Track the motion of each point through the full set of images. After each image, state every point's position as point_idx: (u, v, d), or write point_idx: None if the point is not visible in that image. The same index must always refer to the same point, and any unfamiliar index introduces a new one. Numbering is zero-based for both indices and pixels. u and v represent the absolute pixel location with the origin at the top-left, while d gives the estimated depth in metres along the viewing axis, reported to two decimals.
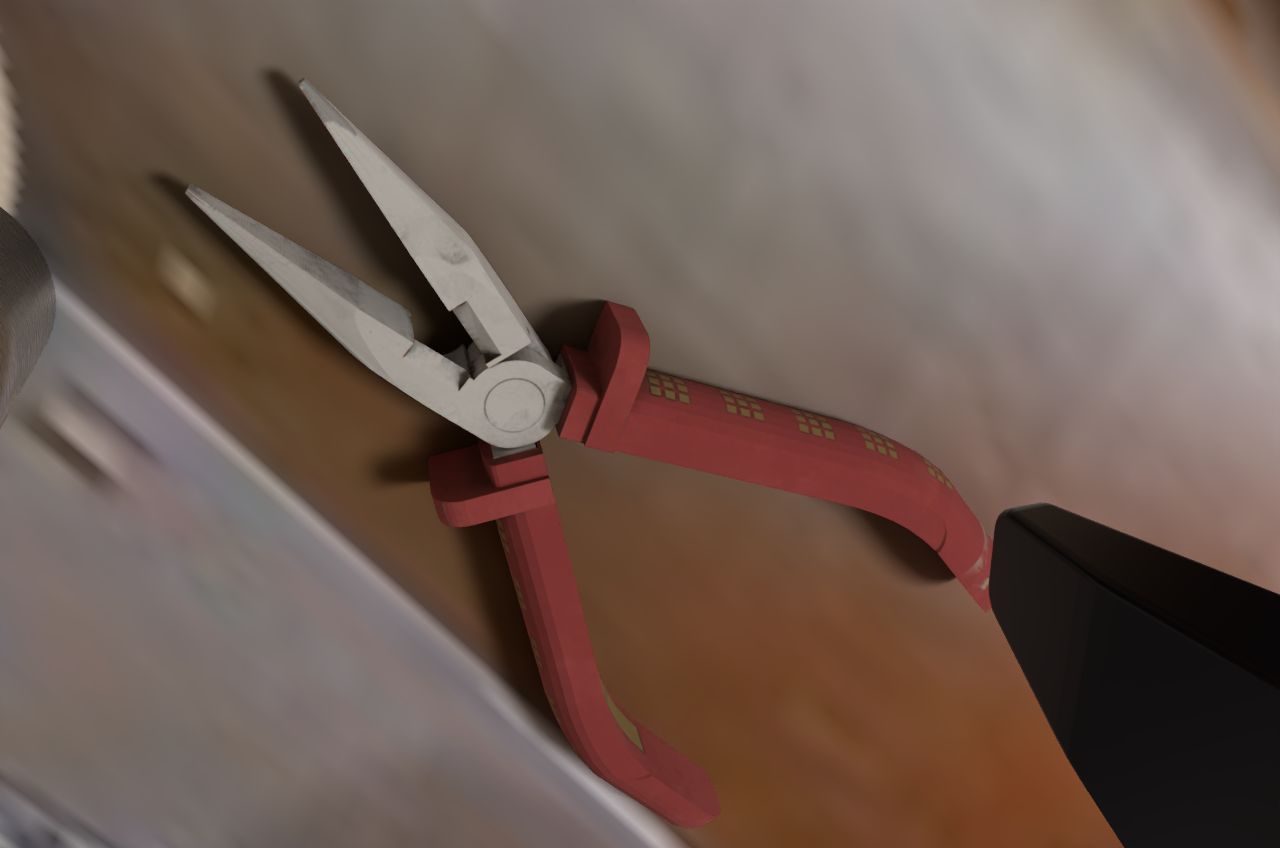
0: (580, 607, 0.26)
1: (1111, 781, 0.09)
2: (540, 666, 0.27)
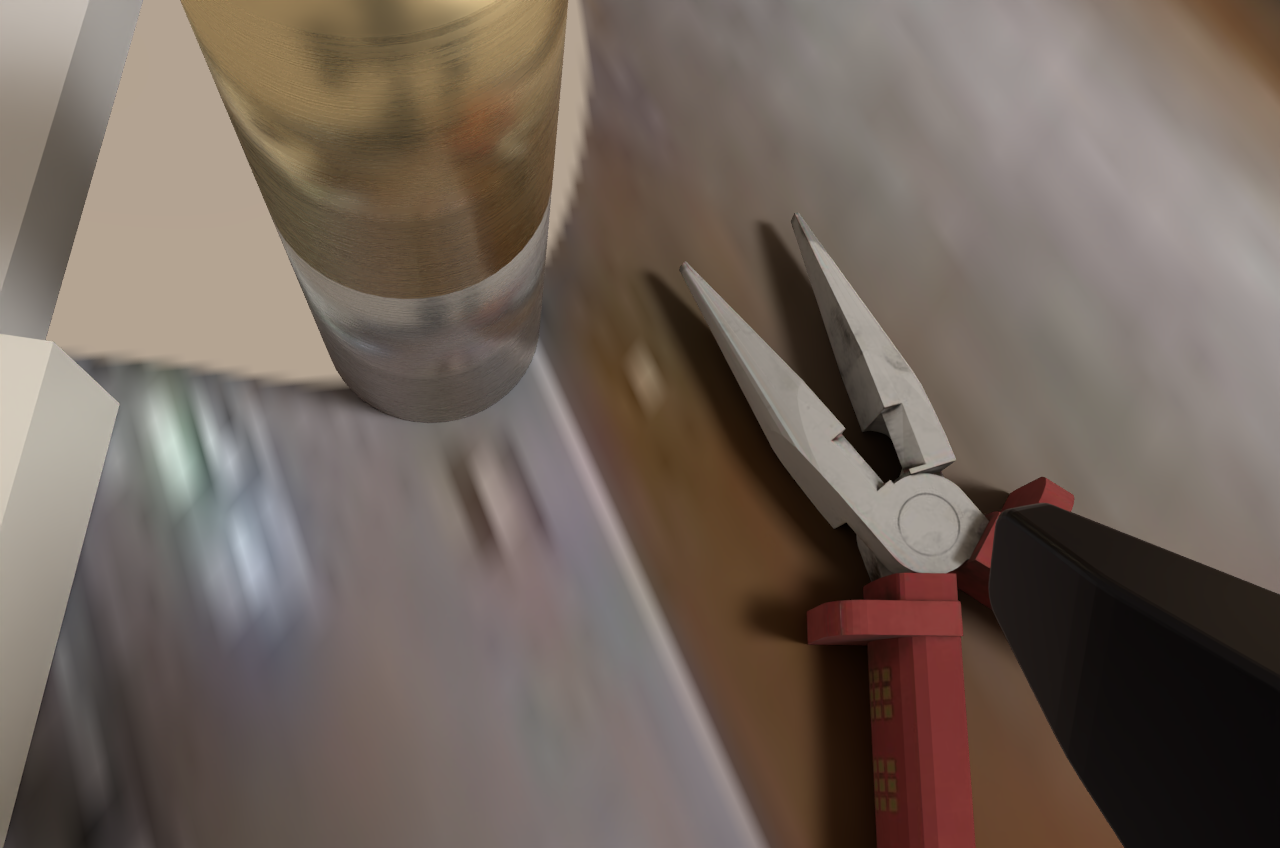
0: (970, 803, 0.20)
1: (1111, 781, 0.09)
2: None
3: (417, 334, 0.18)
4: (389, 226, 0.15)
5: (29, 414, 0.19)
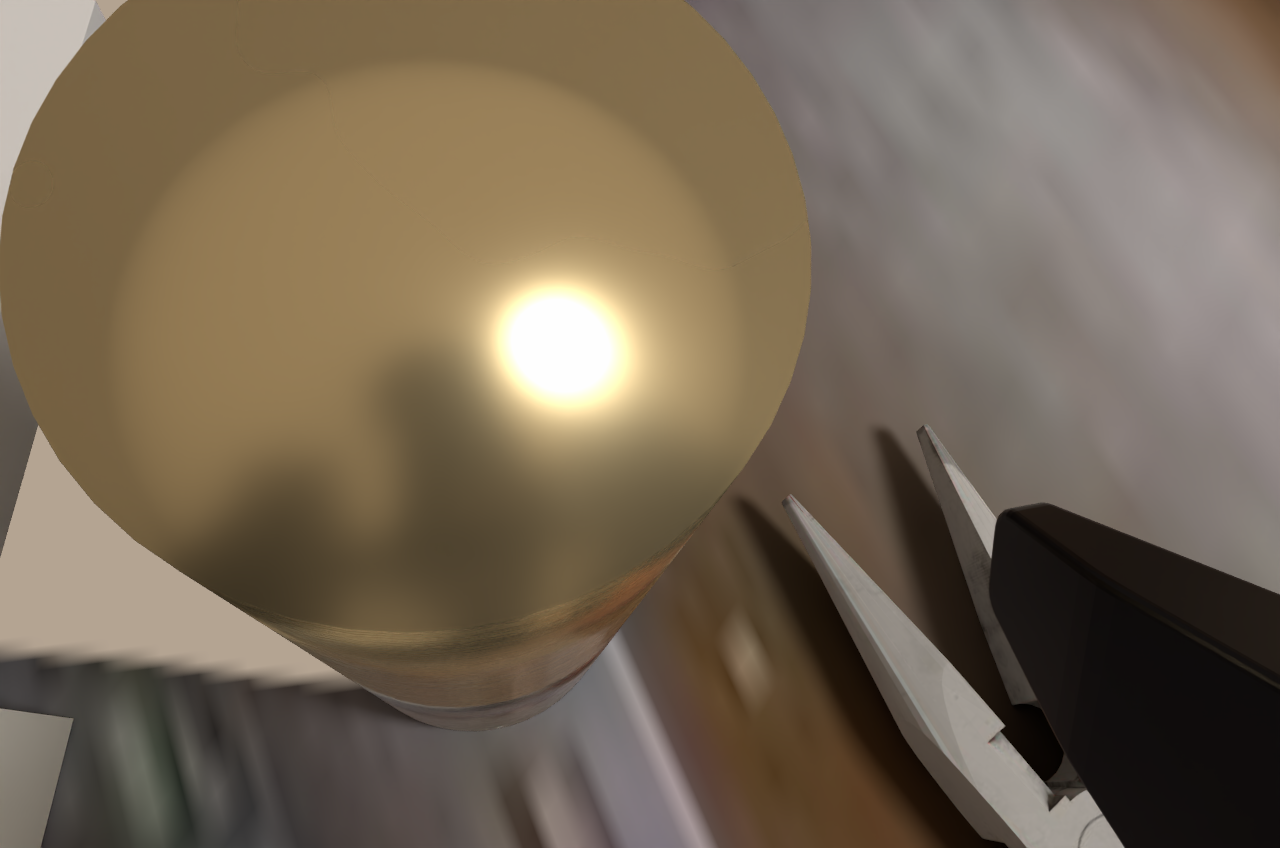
0: None
1: (1111, 781, 0.09)
2: None
3: (471, 714, 0.13)
4: (448, 689, 0.10)
5: None
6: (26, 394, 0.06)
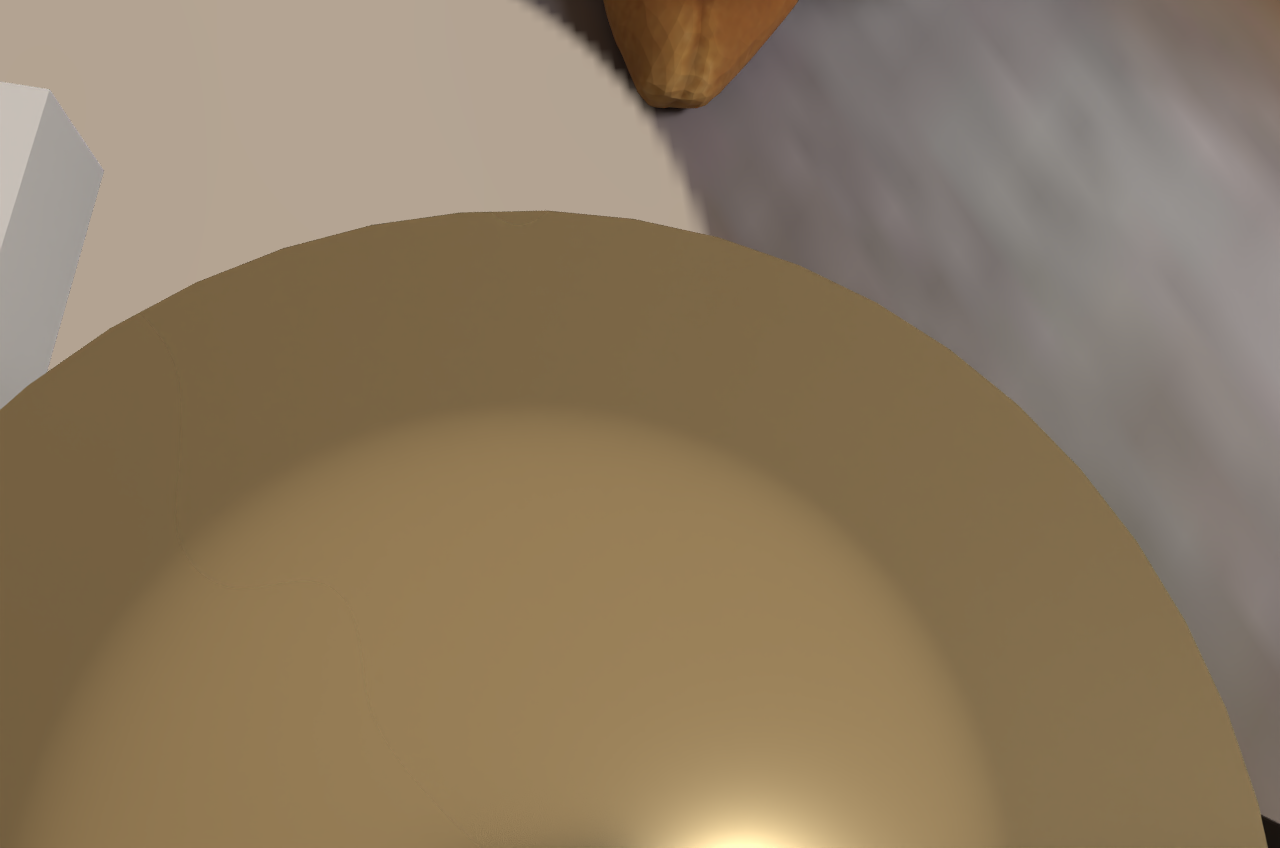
0: None
1: None
2: None
3: None
4: None
5: None
6: None
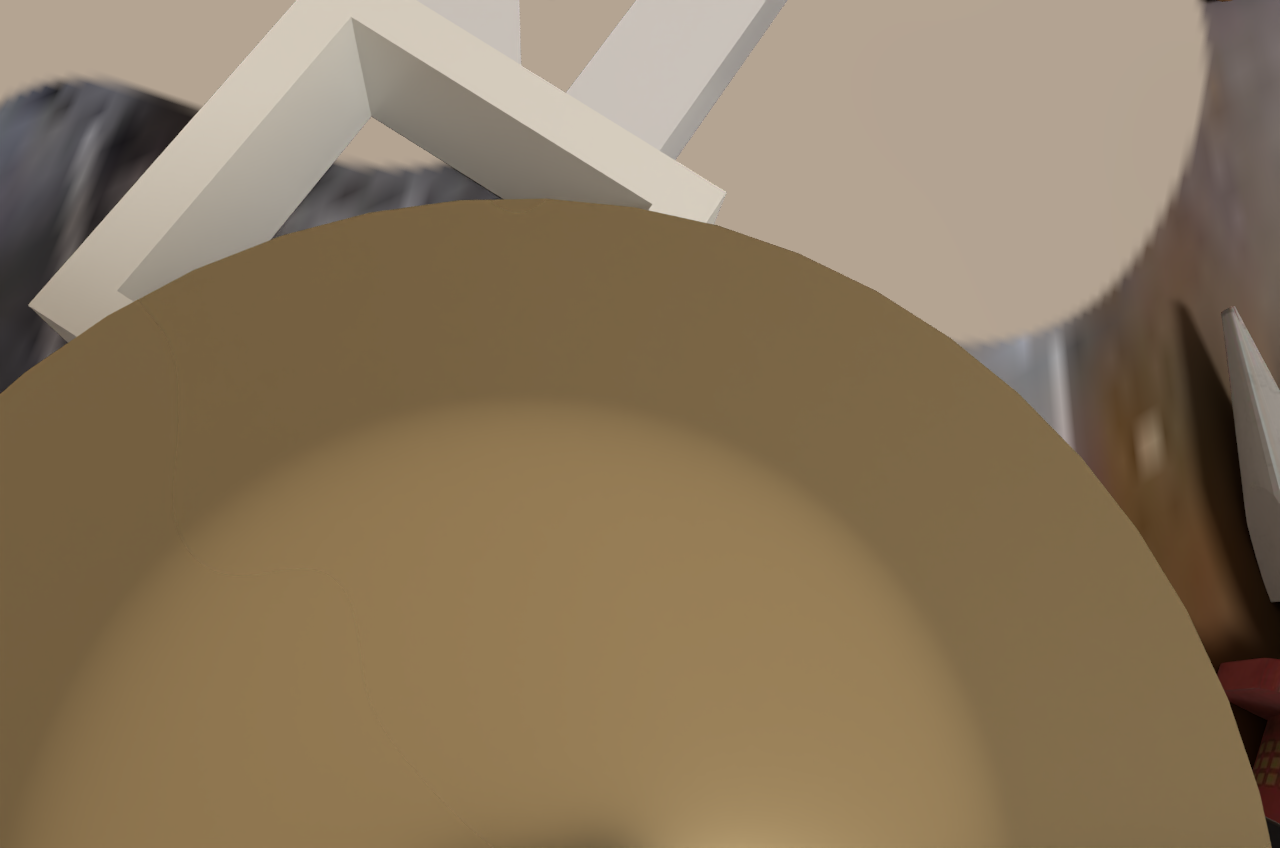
0: None
1: None
2: None
3: None
4: None
5: None
6: None
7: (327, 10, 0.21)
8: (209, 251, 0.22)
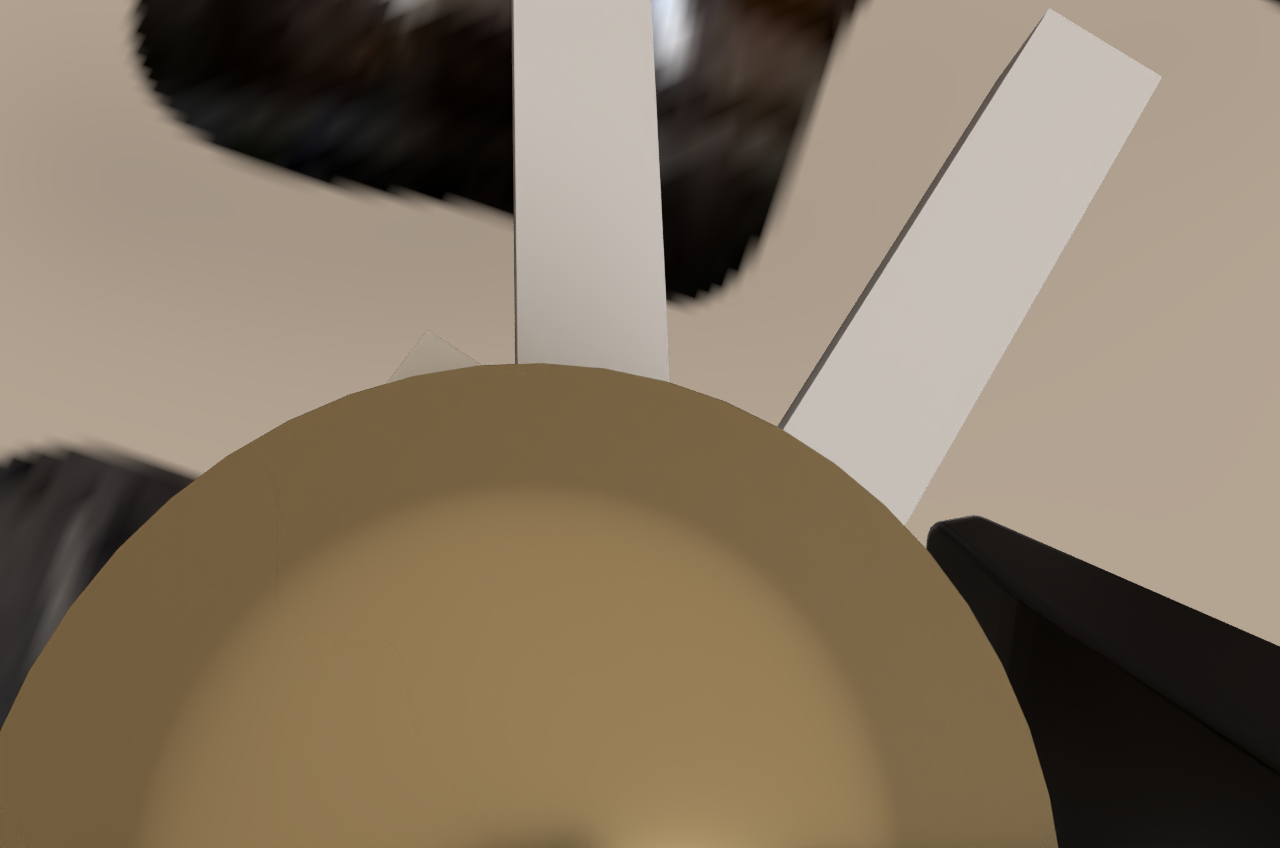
0: None
1: None
2: None
3: None
4: None
5: None
6: None
7: None
8: None
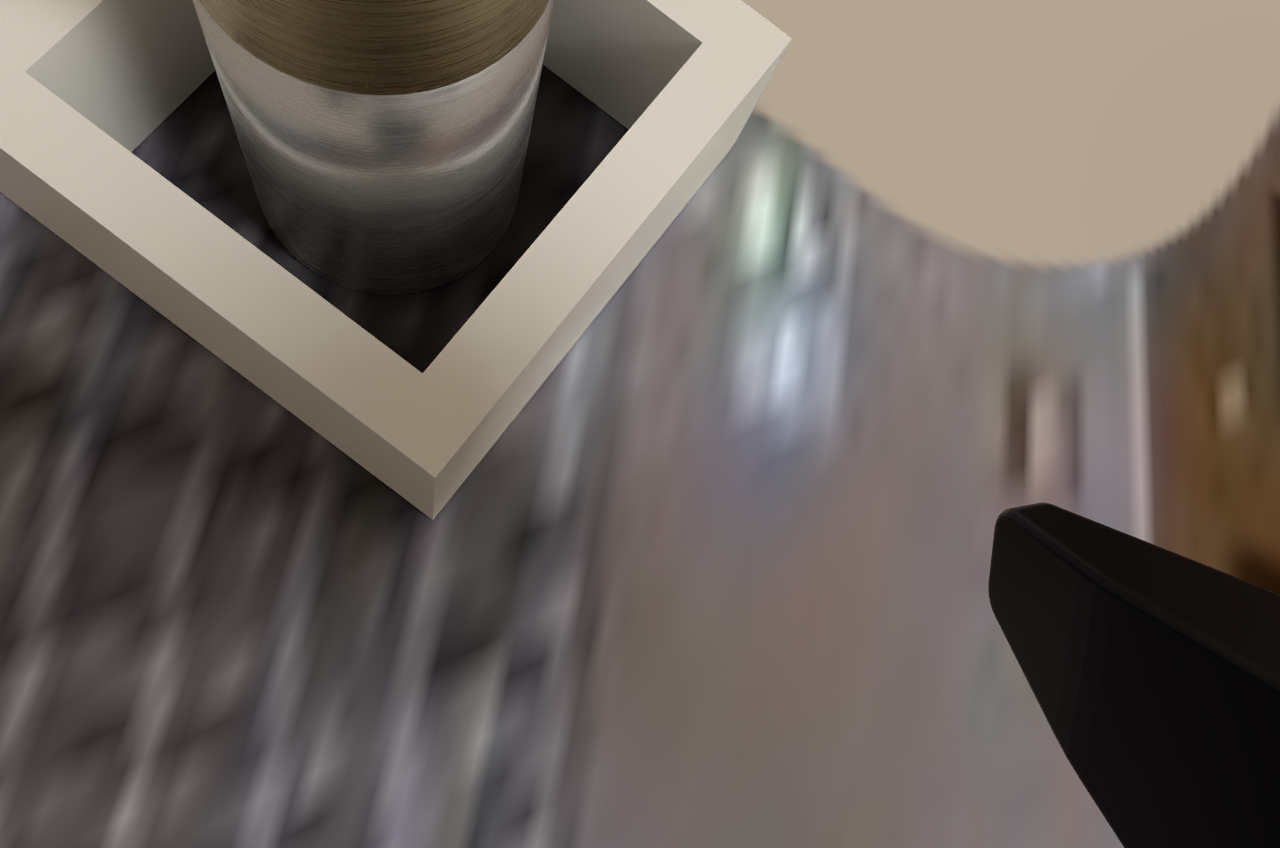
0: None
1: (1111, 781, 0.09)
2: None
3: (370, 154, 0.14)
4: None
5: (740, 94, 0.17)
6: None
7: None
8: (150, 51, 0.17)
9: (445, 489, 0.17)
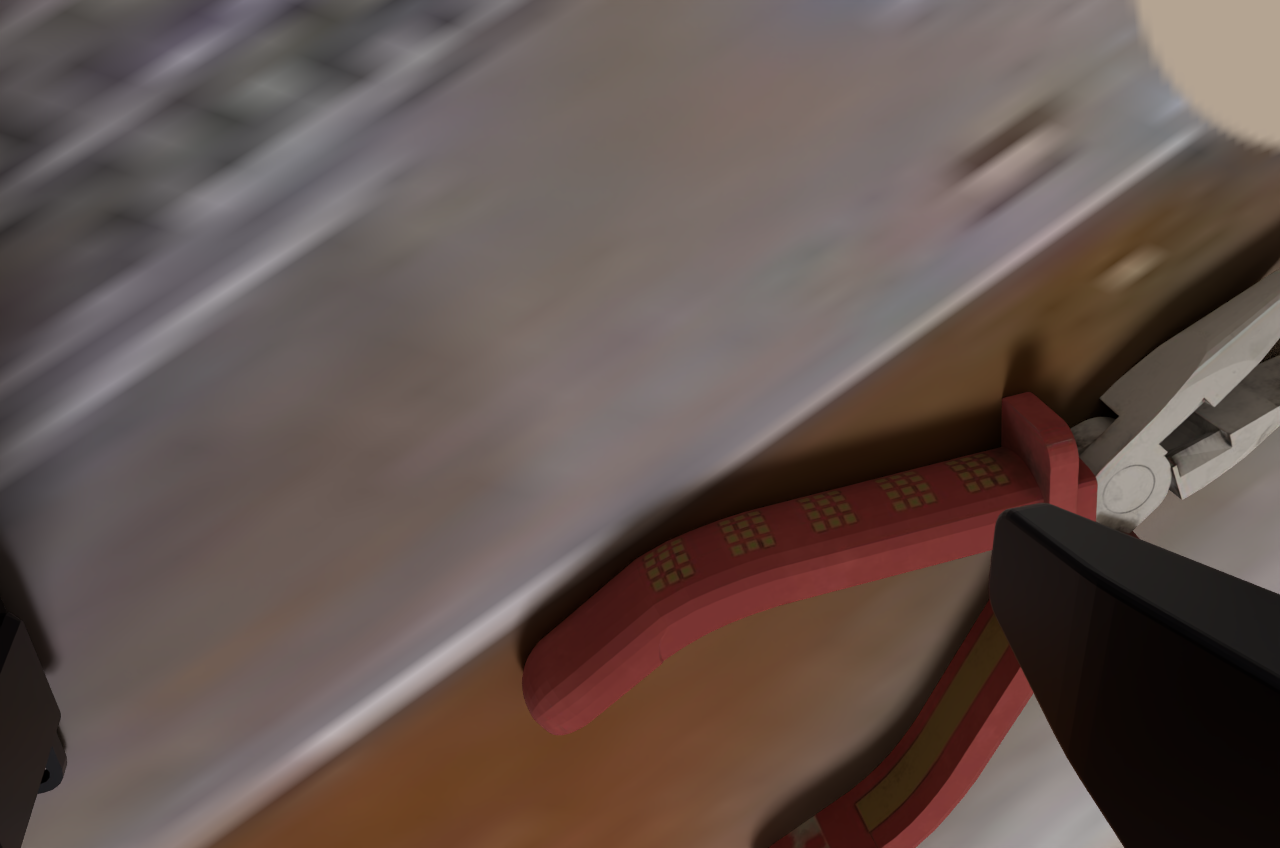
0: (915, 568, 0.24)
1: (1111, 781, 0.09)
2: (814, 526, 0.24)
3: None
4: None
5: None
6: None
7: None
8: None
9: None
